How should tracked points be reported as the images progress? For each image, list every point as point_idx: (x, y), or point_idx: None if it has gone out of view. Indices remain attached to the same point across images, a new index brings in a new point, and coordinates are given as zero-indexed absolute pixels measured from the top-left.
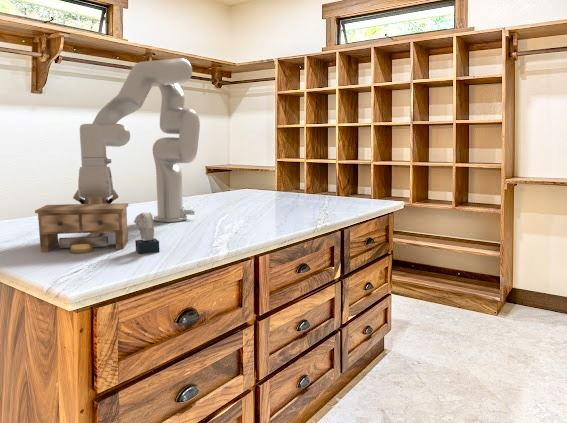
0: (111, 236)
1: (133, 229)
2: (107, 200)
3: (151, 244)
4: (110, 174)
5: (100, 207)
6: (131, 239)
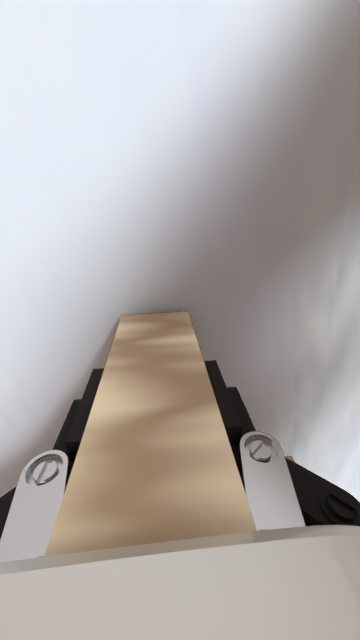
0: (225, 378)
1: (329, 210)
2: (287, 505)
3: None
4: None
5: None
6: (304, 428)
